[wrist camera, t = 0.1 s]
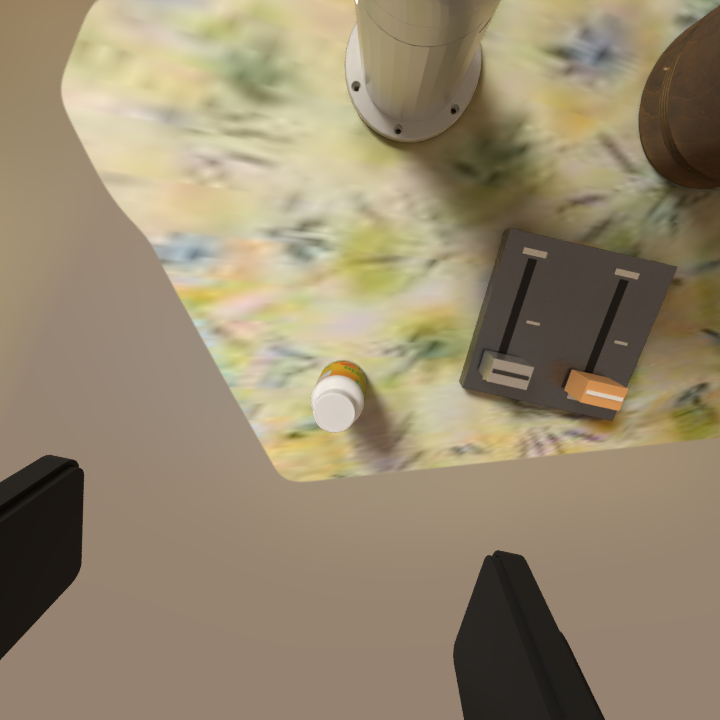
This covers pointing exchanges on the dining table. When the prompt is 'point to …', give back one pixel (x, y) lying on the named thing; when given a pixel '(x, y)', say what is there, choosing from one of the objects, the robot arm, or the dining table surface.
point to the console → (565, 316)
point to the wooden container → (685, 107)
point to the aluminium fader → (505, 370)
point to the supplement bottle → (339, 396)
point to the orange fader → (596, 390)
